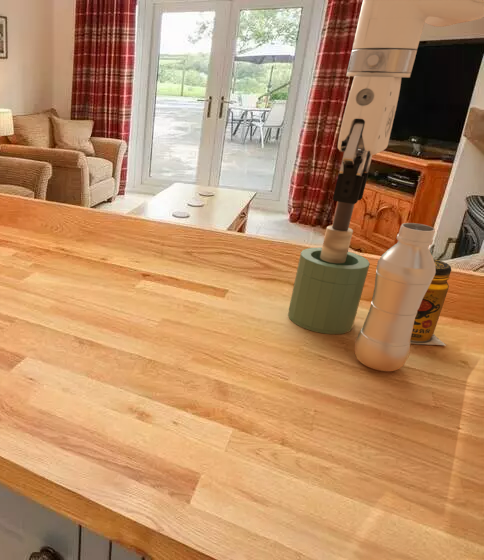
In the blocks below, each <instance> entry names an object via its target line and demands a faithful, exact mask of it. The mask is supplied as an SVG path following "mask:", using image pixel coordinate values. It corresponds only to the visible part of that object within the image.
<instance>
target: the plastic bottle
mask: <svg viewBox="0 0 484 560" xmlns="http://www.w3.org/2000/svg"><path fill="white" fill-rule="evenodd" d="M435 233H436V228H435V227H433V226H430V225H427V224H423V223H415V222H404V223H401V225H400V228H399V231H398V233H397V235H396V240H397V243H395V244H394V245H393V246H391V247H389V248H388V249H387V250H386V251H385V252H384V253H383V254H381V256H380V257H379V259H378V260H377V263H376V270H375V277H374V278H375V279H374V289H373V293H372V298H371V299H372V300H371V302H370V307H369V309H368V313H367V316H366V317H365V320H364V323H363V325H362V327H361V329H360V331H359V332H358V334H357V336H356V338H355V341H354V350H353V351H354V354H355V356H356V359H357V360H358V362H359V363H361V364H362V365H364V366H366V367H368V368H370V369H373V370H376V371H379V372H380V371H381V372H395V371H397V370H399V369H401V368H402V367H404V365H405V364H406V362H407V361H408V359H409V357H410V351H411V343H410V342H411V340H410V339H411V334H412V330H413V325H414V320H415V317H416V314H417V310H418V309H419V307H420V304H421V302H422V299H423V297H424V295H425V293H426V291H427V289H428V288H429V286H430V284H431V282H432V280H433V278H434V275H435V273H436V268H435V262H434V260H433V259H434V257H433V254H432V253H431V251H430V249H429V246H432V244H433V242H434V236H435Z"/></svg>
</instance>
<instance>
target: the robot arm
mask: <svg viewBox="0 0 484 560" xmlns="http://www.w3.org/2000/svg"><path fill="white" fill-rule="evenodd" d="M483 18H484V0H362V4H361V7H360V12H359V16H358V21H357V27H356V31H355V35H354V39H353V43H352V50H351V53H350V58H349V61H348V66H347V70H346V75H345V76H346V77H353V79H352V83H351V87H350V90H349V91H348V97H347V102H346V106H345V109H344V113H343V117H342V121H341V126H340V130H339V135H338V141H337V149H338V150H339V152H341V153H343V156H342V160H341V164H340V167H339V173H338V174H337V179H336V183H335V186H334V187H335V188H334V192H333V196H332V200H333V201H334V202H337V203H338V202H344V203H350V204H354V205H356V204H357V203H358V201H361V200H362V199H363V197H364V192H365V189H366V186H367V185H366V184H367V181H368V177H369V170H370V167H371V162H372V159H373V156H375V155H377V154H379V153H381V152H383V151H384V150H386V149H387V148H388V147H389V146H388V145H389V142H390V139H391V138H390V137H391V133H392V129H393V124H394V119H395V116H396V111H397V107H398V101H399V97H400V91H401V86H402V85H401V84H402V78H411V75H412V71H413V67H414V64H415V60H416V55H417V52H418V48H419V44H420V41H421V38H422V33H423V30H424V27H425V24H427V25H428V26H432V27H437V28H439V27H440V28H441V27H450V26H453V25H457V24H463V23H468V22H472V21H477V20H480V19H483ZM361 175H362V176H361Z"/></svg>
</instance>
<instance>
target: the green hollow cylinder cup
mask: <svg viewBox="0 0 484 560" xmlns="http://www.w3.org/2000/svg"><path fill="white" fill-rule="evenodd" d="M321 250H322V247H318V246H317V247H309V248H308V247H307V248H305V249H303V250H302V251H300V255H299V259H298V263H297V269H296V273H295V278H294V282H293V288H292V291H291V297H290V302H289V307H288V313H287V316H288V318H289V319H290V321H291V322H293V323H294V324H295V325H296V326H299V327H301V328H303V329H306V330H308V331H311V332H314V333H319V334H324V335H325V334H326V335H342V334H346V333H348V332H350V331H352V330H353V326H354V323H355V321H356V318H357V317H356V316H357V312H358V310H359V306H360V301H361V298H362V295H363V290H364V288H365V283H366V279H367V275H368V272H369V269H370V265H371V264H370V262H369V260H368V259H367V258H365V257H364V256H362V255H360V254H357V253H355V252H351V251H348V253H347V257H346V261H345V262H344V263H330V262H326V261H324V260H322V259H321V258H320V255H321Z"/></svg>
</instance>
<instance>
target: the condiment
mask: <svg viewBox="0 0 484 560" xmlns="http://www.w3.org/2000/svg"><path fill="white" fill-rule="evenodd" d="M433 260H434V262H435V268H436V273H435V275H434V278H433V280H432V282H431V284H430V286H429V288H428V289H427V291H426V293H425V295H424V297H423V299H422V302H421V304H420V307H419V309H418V310H417V314H416V317H415V320H414V325H413V330H412V334H411V339H410V340H411V342H410V345H413V344H414V345H428V346H435V345H437V346H447V344H446V343H444V342H443V341H442V340H441V339H440V338H439V337H437V336H436V335H435V331H436V327H437V325H438V322H439V318H440V316H441V313H442V309H443V308H444V307H443V306H444V303H445V300H446V297H447V295H448V291H449V288H450V285H449V283H448V281H449V280H450V275H451V273H452V267H451V265H450V264H449V263H447V262H445V261H442V260H439V259H434V258H433Z"/></svg>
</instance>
